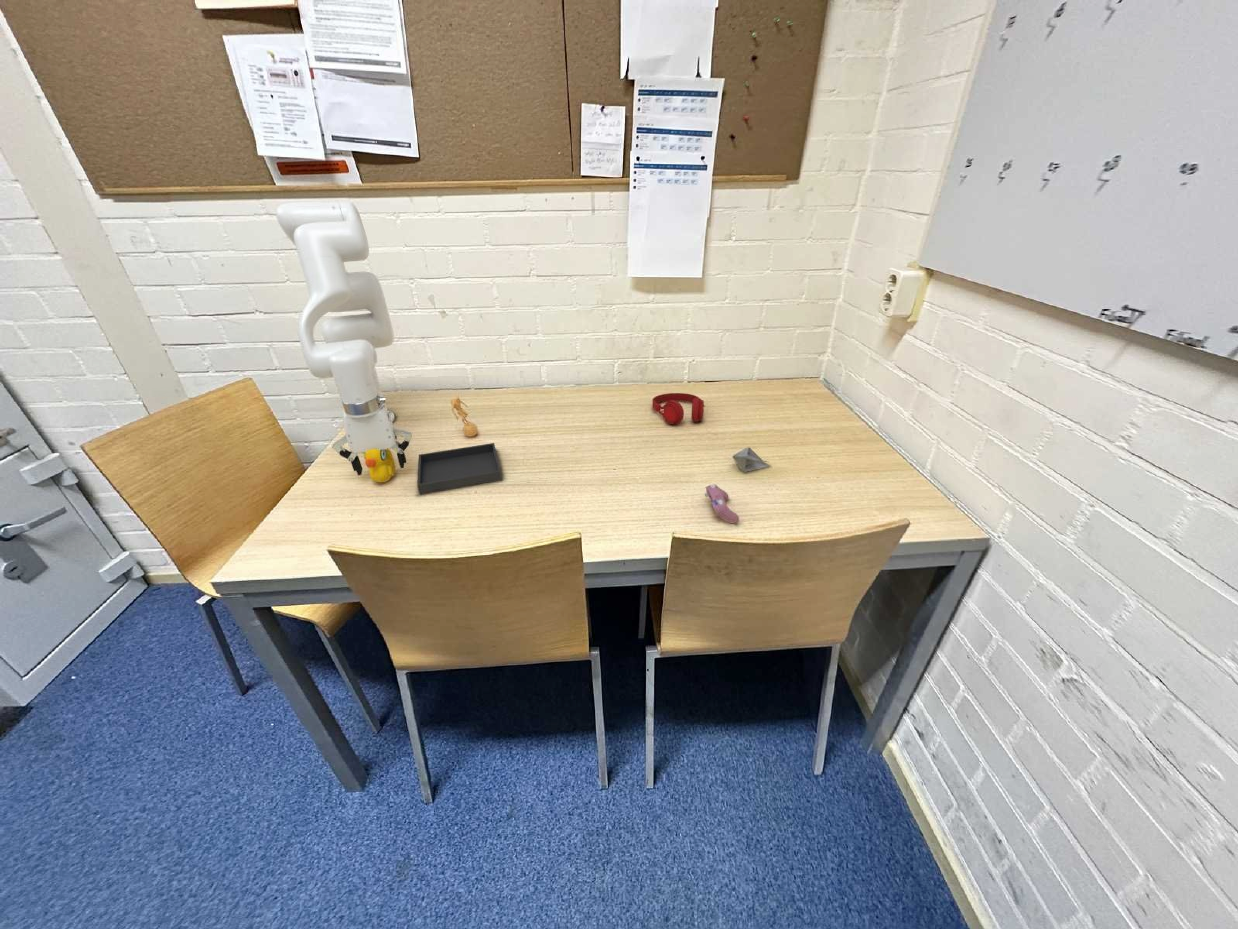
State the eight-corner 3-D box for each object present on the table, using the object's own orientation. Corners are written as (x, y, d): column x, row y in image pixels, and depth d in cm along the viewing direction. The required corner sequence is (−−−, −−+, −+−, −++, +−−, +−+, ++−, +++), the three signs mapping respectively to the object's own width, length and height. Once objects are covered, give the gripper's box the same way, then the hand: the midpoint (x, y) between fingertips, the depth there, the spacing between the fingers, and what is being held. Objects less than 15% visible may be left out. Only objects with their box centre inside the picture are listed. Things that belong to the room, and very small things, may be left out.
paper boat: (749, 450, 130) (782, 453, 124) (745, 474, 130) (777, 478, 123) (725, 441, 121) (760, 444, 115) (721, 467, 121) (755, 471, 115)
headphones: (712, 423, 145) (690, 405, 163) (713, 400, 142) (690, 384, 161) (664, 428, 143) (647, 409, 161) (664, 405, 140) (646, 388, 158)
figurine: (473, 442, 138) (466, 403, 132) (452, 442, 138) (444, 403, 132) (482, 429, 145) (475, 391, 139) (462, 429, 145) (454, 391, 139)
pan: (420, 463, 129) (418, 454, 127) (495, 451, 134) (494, 442, 132) (419, 494, 116) (417, 485, 115) (502, 480, 121) (500, 471, 120)
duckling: (388, 492, 117) (377, 455, 112) (365, 493, 117) (352, 456, 112) (402, 467, 127) (392, 432, 122) (381, 468, 127) (370, 433, 122)
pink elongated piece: (710, 504, 114) (699, 482, 111) (728, 496, 113) (718, 474, 110) (721, 531, 106) (709, 509, 102) (741, 522, 105) (730, 499, 101)
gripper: (403, 393, 117) (419, 456, 126) (322, 403, 113) (345, 467, 121) (401, 406, 111) (418, 470, 120) (316, 417, 107) (340, 483, 115)
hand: (381, 469), depth 121 cm, fingers open, 9 cm apart
